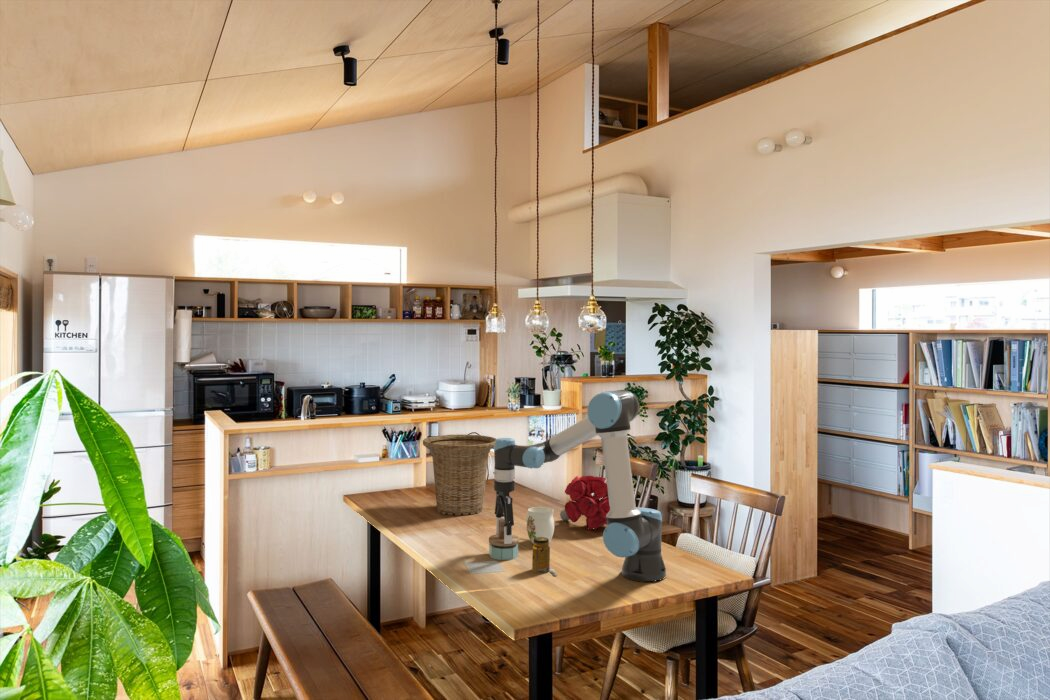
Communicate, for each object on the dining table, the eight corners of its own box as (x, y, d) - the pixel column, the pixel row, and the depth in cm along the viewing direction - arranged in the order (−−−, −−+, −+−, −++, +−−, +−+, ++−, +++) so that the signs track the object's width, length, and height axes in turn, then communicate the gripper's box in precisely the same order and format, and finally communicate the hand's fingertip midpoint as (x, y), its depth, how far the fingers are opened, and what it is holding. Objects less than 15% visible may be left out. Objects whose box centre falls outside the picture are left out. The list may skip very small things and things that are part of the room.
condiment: (530, 570, 257) (530, 536, 257) (554, 569, 258) (554, 535, 257) (532, 576, 250) (532, 542, 249) (557, 576, 250) (557, 541, 250)
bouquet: (553, 543, 313) (599, 520, 294) (537, 490, 322) (582, 465, 303) (588, 537, 327) (634, 515, 308) (572, 487, 336) (616, 463, 317)
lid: (522, 545, 266) (522, 523, 266) (492, 547, 263) (493, 525, 263) (513, 536, 277) (514, 516, 277) (485, 539, 274) (485, 517, 273)
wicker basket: (469, 523, 318) (470, 447, 317) (406, 513, 335) (407, 441, 334) (511, 507, 348) (511, 438, 347) (451, 498, 366) (451, 432, 365)
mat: (505, 573, 253) (505, 571, 253) (471, 576, 249) (471, 574, 249) (496, 562, 264) (496, 560, 264) (463, 565, 261) (464, 563, 261)
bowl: (520, 561, 267) (520, 547, 267) (493, 563, 264) (493, 549, 264) (512, 553, 276) (512, 540, 276) (487, 555, 273) (487, 542, 273)
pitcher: (538, 534, 301) (538, 501, 301) (563, 545, 286) (563, 511, 286) (515, 538, 296) (516, 504, 295) (539, 549, 280) (540, 514, 280)
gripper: (486, 474, 280) (486, 531, 280) (502, 487, 257) (502, 548, 258) (505, 473, 282) (505, 530, 282) (523, 486, 259) (522, 547, 260)
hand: (503, 539), depth 270 cm, fingers closed on lid, 11 cm apart
